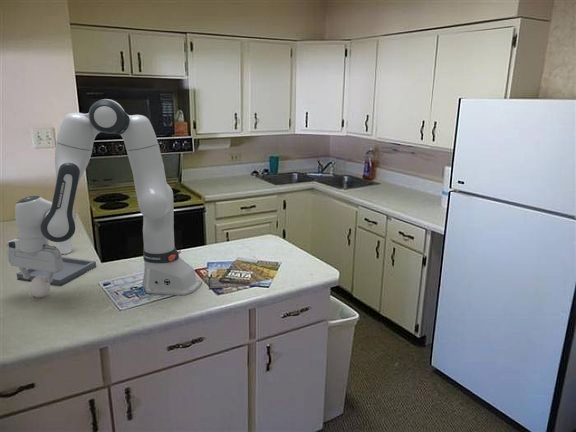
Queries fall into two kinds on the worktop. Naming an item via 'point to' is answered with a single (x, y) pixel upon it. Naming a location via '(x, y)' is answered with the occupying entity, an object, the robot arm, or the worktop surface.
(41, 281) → the egg
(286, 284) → the worktop surface
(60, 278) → the tray
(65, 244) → the drinking glass
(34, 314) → the worktop surface
